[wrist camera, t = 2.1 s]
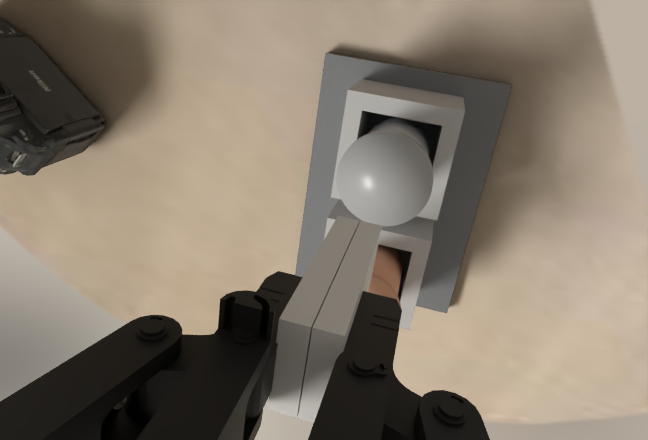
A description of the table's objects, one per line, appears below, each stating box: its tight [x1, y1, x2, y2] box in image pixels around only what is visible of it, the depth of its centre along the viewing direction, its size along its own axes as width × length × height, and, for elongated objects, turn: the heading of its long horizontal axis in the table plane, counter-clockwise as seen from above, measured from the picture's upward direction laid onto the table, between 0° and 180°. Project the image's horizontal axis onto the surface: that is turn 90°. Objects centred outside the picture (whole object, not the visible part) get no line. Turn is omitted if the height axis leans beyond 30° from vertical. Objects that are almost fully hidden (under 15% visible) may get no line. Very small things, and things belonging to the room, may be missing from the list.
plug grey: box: [336, 118, 433, 226], centre depth 28 cm, size 5×5×6 cm
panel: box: [295, 52, 512, 330], centre depth 34 cm, size 17×12×6 cm
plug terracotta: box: [369, 244, 403, 307], centre depth 31 cm, size 5×5×6 cm
